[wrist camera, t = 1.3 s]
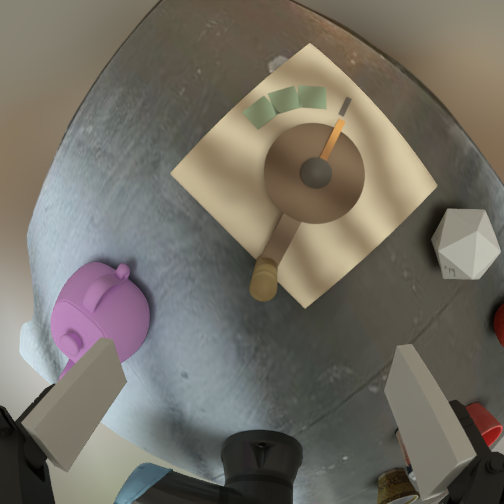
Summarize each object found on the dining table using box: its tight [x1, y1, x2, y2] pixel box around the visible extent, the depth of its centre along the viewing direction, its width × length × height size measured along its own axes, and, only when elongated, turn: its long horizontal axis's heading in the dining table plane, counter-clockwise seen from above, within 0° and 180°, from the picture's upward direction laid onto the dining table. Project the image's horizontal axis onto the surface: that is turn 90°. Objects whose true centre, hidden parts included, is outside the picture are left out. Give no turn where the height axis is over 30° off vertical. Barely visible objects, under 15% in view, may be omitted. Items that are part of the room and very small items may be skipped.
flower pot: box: [466, 403, 503, 447], centre depth 33 cm, size 11×11×10 cm
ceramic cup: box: [377, 468, 420, 504], centre depth 40 cm, size 13×10×10 cm
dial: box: [249, 119, 365, 301], centre depth 26 cm, size 18×10×7 cm, turn 155°
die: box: [431, 209, 501, 279], centre depth 26 cm, size 8×9×10 cm
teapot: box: [51, 262, 150, 381], centre depth 31 cm, size 20×13×12 cm, turn 146°
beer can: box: [396, 429, 416, 480], centre depth 33 cm, size 5×5×12 cm
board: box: [170, 43, 437, 308], centre depth 29 cm, size 22×22×1 cm
